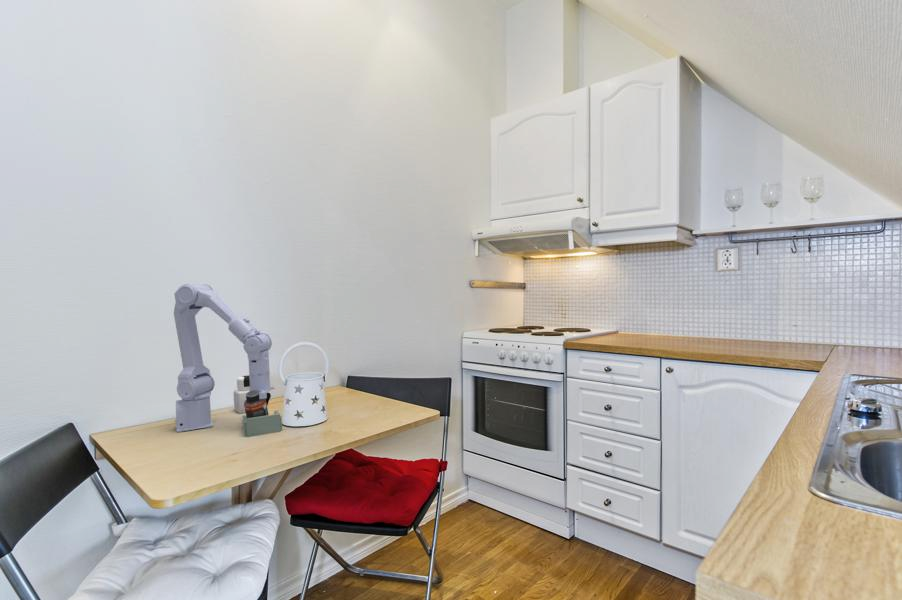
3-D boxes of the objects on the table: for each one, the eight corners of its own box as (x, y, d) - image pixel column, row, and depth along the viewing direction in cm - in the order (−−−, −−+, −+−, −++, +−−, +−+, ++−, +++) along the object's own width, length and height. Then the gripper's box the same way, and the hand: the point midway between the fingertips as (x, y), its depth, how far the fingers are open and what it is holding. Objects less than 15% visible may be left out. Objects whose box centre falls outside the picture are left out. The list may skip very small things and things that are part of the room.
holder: (245, 437, 127) (244, 419, 127) (242, 428, 135) (242, 412, 135) (282, 431, 132) (281, 414, 132) (278, 423, 140) (277, 407, 140)
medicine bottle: (255, 406, 163) (253, 373, 163) (261, 410, 158) (259, 376, 158) (234, 410, 159) (232, 376, 159) (239, 414, 153) (238, 379, 153)
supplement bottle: (274, 423, 135) (268, 390, 132) (257, 434, 131) (250, 400, 127) (261, 418, 138) (255, 385, 134) (244, 428, 133) (237, 395, 130)
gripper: (276, 375, 133) (279, 421, 133) (270, 369, 145) (272, 410, 145) (250, 378, 129) (253, 425, 129) (246, 371, 142) (248, 414, 142)
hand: (261, 418), depth 137 cm, fingers closed, pressing on supplement bottle
